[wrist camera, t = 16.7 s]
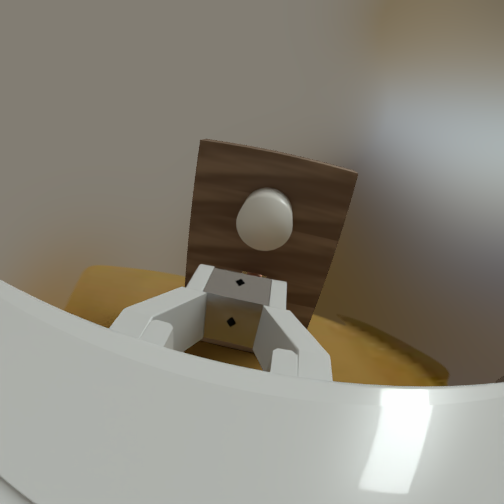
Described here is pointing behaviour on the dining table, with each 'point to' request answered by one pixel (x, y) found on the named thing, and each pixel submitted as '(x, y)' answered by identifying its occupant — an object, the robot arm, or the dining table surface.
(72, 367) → the robot arm
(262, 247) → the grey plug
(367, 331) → the dining table surface
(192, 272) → the plug panel
